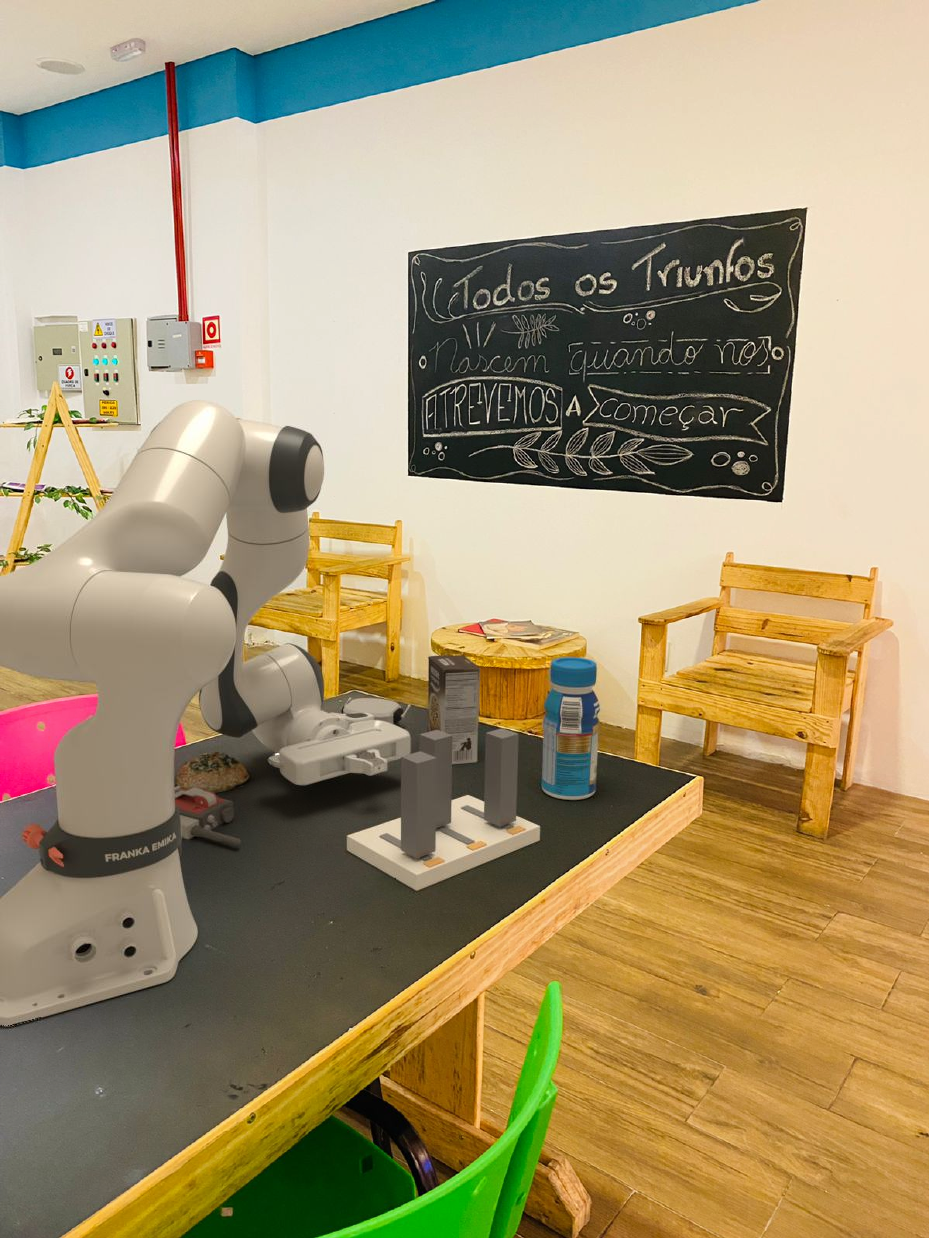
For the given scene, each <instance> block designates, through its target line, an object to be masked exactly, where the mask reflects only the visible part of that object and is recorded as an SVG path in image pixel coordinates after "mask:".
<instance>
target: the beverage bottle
mask: <svg viewBox="0 0 929 1238" xmlns="http://www.w3.org/2000/svg"><path fill="white" fill-rule="evenodd" d="M549 670H550V674H549V677H550V678H549V679H550V680H549V681H550V683H551V685H552V686H553V687H552V688H551V689H550V691H549V692H548V694H547V696H546V698H545V702H544V705H543V706H544V711H545V714H544V716H543V719H542V729H543V733H542V734H543V738H542V743H543V744H542V771H541V773H542V774H541V775H542V776H541V789H542V791H543V792H544V793H545V794H547V795H548V796H551V797H552V798H555V799H561V800H566V801H567V800H569V801H577V800H578V801H579V800H584V799H587V798H589V797H591V796H593V795H594V794H595V792H596V791H597V767H598V751H599V750H598V749H599V735H600V734H599V733H600V730H601V722H600V719H599V718H598V715H599V713H600V710H601V706H600V702H599V699H598V697H597V695H596V693H595V690H593V688H594V687H595V686H596V683H597V675H598V673H597V671H598V666H597V663H596V661H593V660H591V659H589V658H584V657H572V656H567V657H566V656H565V657H558V658H554V659H553V660H552V661H551V663H550V669H549Z"/></svg>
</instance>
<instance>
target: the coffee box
mask: <svg viewBox="0 0 929 1238" xmlns="http://www.w3.org/2000/svg"><path fill="white" fill-rule="evenodd" d="M427 659H428V666H427V667H428V669H427V670H428V681H427V682H428V683H427V684H428V689H427V691H428V692H427V693H428V696H427V698H428V700H427V701H428V702H427V703H428V704H427V705H428V707H427V709H428V712H427V714H428V715H427V717H428V718H427V722H428V725H427V727H428V728H427V732H430V731H434V730H439V731H442V732H445V733H447V734H450V735H452V765H460V764H462V765H463V764H471V763H473V764H474V763H478V754H479V753H478V751H479V747H478V746H479V723H480V721H479V717H480V686H481V685H480V684H481V667H480V666H478V665H477V664H476V663H474V662H473V661H472V660H471V659H469V658H468V657H467V656H465V655H464V654H457V655H455V654H454V655H452V654H451V655H450V654H449V655H448V654H447V655H446V654H444V655H430V656H429V655H428V657H427Z"/></svg>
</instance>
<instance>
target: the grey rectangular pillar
mask: <svg viewBox="0 0 929 1238" xmlns="http://www.w3.org/2000/svg"><path fill="white" fill-rule="evenodd" d="M418 741H419V745H418V746H419V749H418V750H419V751H418V752H420V751H421V752H424V753H426V754H428V755H431V756H433V757H436V758H437V761H436V828H438V827H441V826H444V825H447V824H450V823H451V803H452V800H453V799H452V793H453V790H452V789H453V787H452V786H453V783H452V782H453V781H452V780H453V764H452V735H450V734H447V733H445V732H442V731H439V730H434V731H430V732H428V731H426V732H423V733H419V740H418Z"/></svg>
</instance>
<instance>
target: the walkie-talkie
mask: <svg viewBox="0 0 929 1238" xmlns="http://www.w3.org/2000/svg"><path fill="white" fill-rule="evenodd" d="M174 792H175V804H176V805H177V806H178V807H179V811H180V821H181V828H182V839H185V840H190V839H192V838H193V837H196V838H197V837H198V838H200V837H201V838H205V839H209V840H212V841H214V842H215V841H216V842H220V843H223V842H226V843H229V844H232V845H237V846H240V845H241V844H242V840H241V839H240V838H238V837H234V836H232V835H229V834H228V835H227V834H223V833H220V832H218V831H217V832H216V831H214V830H213V829H215V828H217V827H220V826H221V825H223V824H228V823H231V822H232V821H233V819H234V817H235V810H234V802H233V801H232V800H229V799H225V798H223V797H222V798H221V797H219V796H218V795H217V794H216V793H213V792H210V791H204V790H202V789H198V788H192V789H189V790H187V789H183V788H180V786H174Z"/></svg>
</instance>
